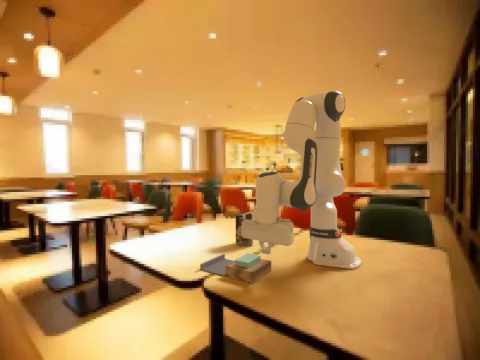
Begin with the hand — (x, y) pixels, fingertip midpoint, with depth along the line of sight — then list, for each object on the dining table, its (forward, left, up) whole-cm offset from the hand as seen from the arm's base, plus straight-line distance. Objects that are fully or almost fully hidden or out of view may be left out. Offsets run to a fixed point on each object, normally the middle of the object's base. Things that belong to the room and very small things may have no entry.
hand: (266, 253), depth 101 cm
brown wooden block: (+8, -1, -9) cm, 12 cm away
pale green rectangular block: (+8, -1, -5) cm, 10 cm away
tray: (+20, -1, -9) cm, 22 cm away
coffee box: (+31, -33, -10) cm, 46 cm away
